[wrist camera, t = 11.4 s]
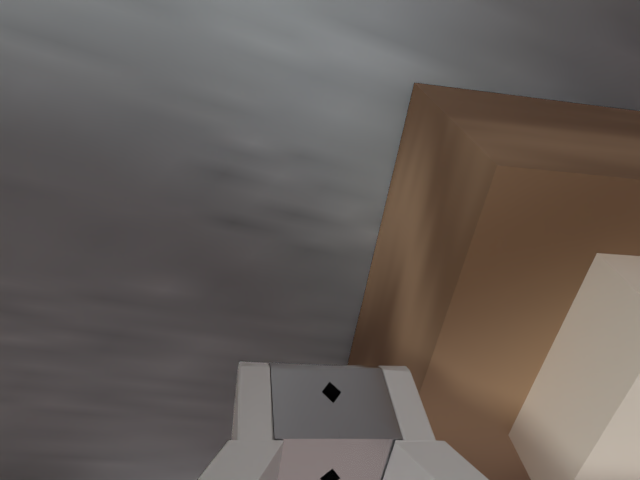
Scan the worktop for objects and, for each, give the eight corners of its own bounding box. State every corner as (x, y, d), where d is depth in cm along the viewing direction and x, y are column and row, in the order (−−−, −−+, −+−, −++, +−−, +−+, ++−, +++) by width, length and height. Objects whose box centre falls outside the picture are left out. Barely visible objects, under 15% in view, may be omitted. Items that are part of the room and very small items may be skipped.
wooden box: (414, 82, 13) (497, 165, 9) (819, 134, 15) (1047, 220, 11) (317, 491, 21) (335, 638, 17) (590, 486, 23) (668, 616, 19)
